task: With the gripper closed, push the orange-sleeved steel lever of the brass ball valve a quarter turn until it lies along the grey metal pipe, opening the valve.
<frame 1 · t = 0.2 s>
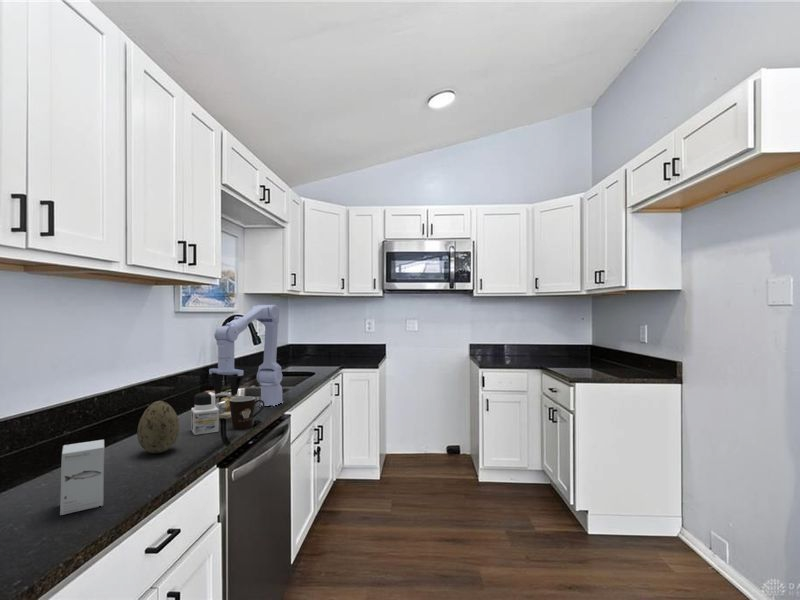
hand: (226, 394, 158), 10 cm above the worktop, tool pointing down, fingers open, 7 cm apart
supplement box: (82, 506, 90), on the worktop
valve lever: (218, 393, 172), point 7 cm above the worktop, hinge at 0.0°
decorative egg: (158, 453, 123), on the worktop
valve pipe: (228, 403, 170), on the mounting board, point 4 cm above the worktop
mounting board: (229, 412, 170), on the worktop
container: (204, 431, 145), on the worktop
coffee mug: (246, 427, 149), on the worktop
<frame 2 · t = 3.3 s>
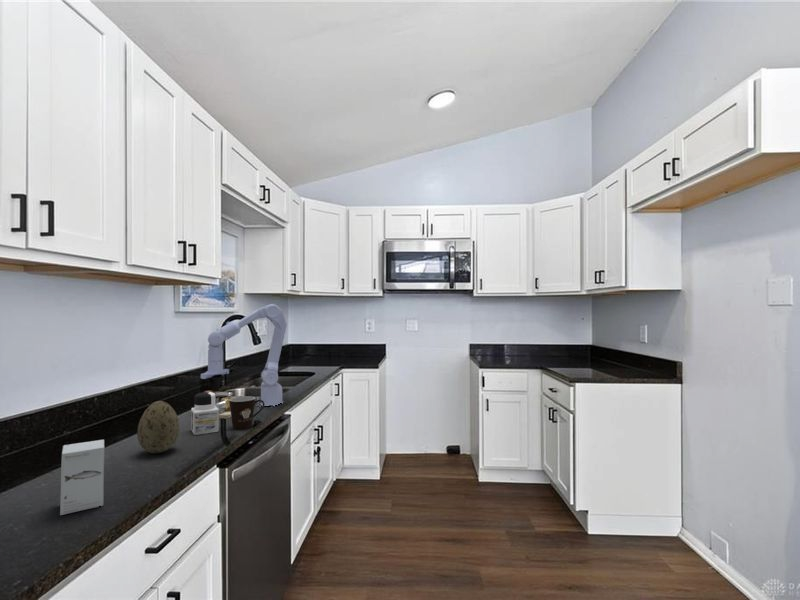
hand: (215, 393, 175), 7 cm above the worktop, tool pointing down, fingers closed
valve lever: (218, 393, 172), point 7 cm above the worktop, hinge at 0.2°, touching gripper
everything else where it was.
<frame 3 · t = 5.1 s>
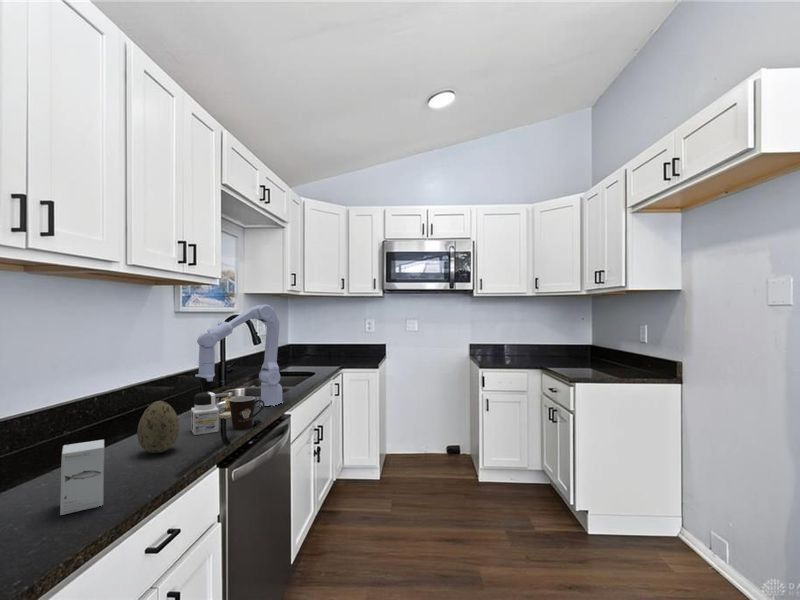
hand: (206, 397, 167), 7 cm above the worktop, tool pointing down, fingers closed, pressing on valve lever
valve lever: (215, 395, 168), point 7 cm above the worktop, hinge at 48.7°, touching gripper
everything else where it was.
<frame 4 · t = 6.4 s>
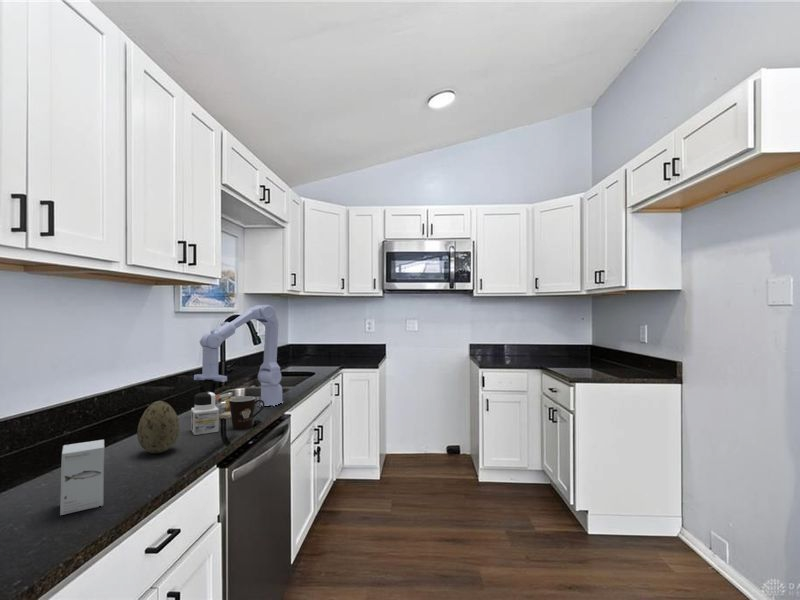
hand: (210, 399, 163), 7 cm above the worktop, tool pointing down, fingers closed, pressing on valve lever
valve lever: (219, 396, 166), point 8 cm above the worktop, hinge at 84.5°, touching gripper
everything else where it was.
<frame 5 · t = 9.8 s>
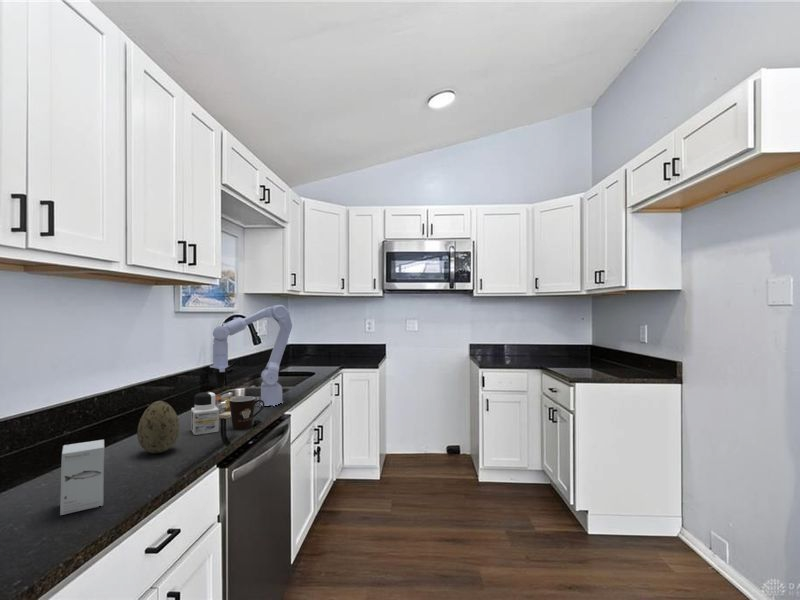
hand: (220, 387, 175), 9 cm above the worktop, tool pointing down, fingers closed
valve lever: (220, 396, 166), point 7 cm above the worktop, hinge at 90.3°
everything else where it was.
at the end: valve lever at +90° (first picture: +0°) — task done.
